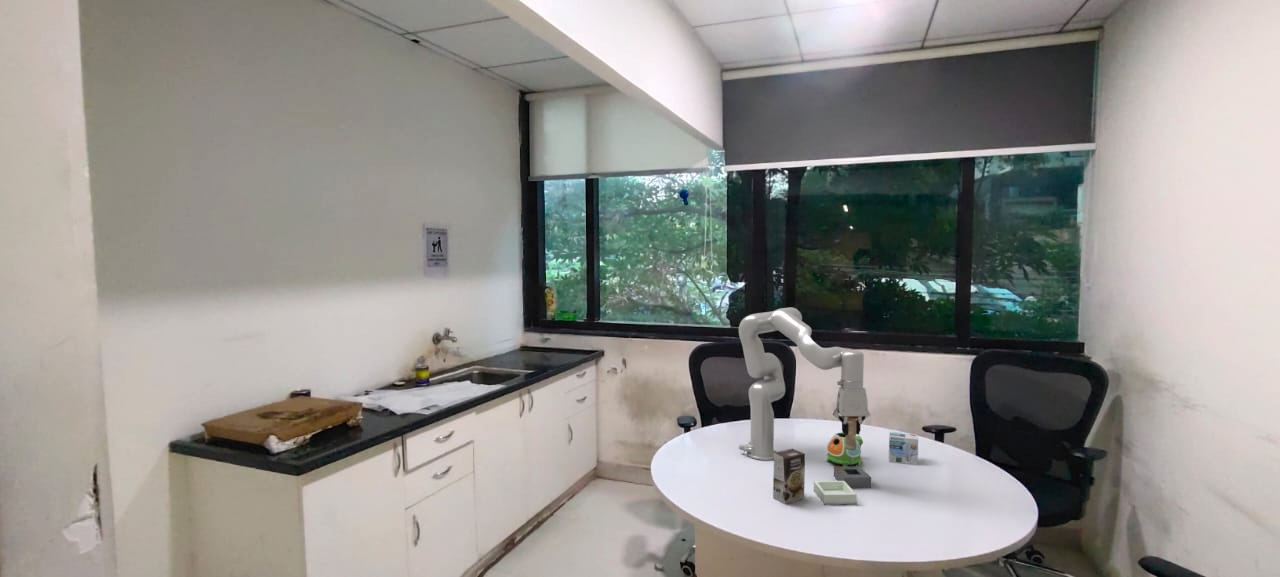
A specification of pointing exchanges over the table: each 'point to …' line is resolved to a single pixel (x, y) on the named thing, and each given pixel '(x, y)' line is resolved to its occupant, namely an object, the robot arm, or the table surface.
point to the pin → (851, 433)
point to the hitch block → (853, 476)
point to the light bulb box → (903, 448)
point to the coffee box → (789, 475)
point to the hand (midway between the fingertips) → (851, 433)
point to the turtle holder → (843, 450)
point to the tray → (834, 492)
